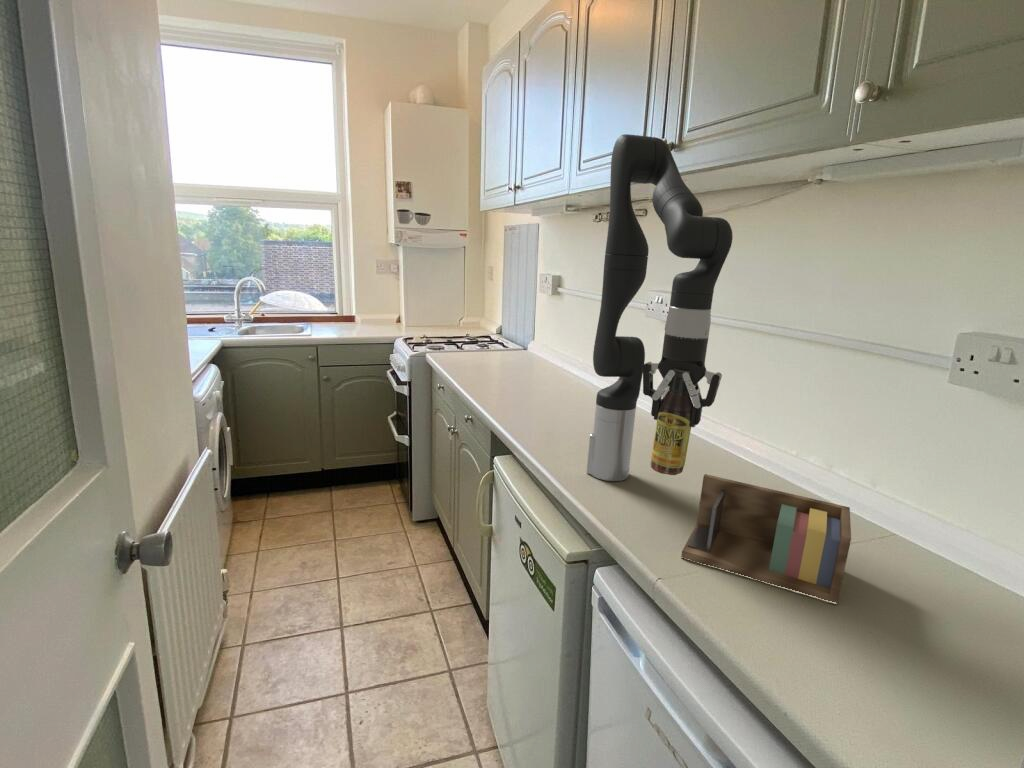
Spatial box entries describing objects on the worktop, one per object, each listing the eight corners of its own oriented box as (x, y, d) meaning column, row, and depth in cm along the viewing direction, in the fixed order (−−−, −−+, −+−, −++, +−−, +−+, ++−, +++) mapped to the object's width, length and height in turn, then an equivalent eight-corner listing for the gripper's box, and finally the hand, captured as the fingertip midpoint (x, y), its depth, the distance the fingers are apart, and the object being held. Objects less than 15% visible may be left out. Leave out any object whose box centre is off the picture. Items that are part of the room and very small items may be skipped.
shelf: (681, 558, 99) (689, 497, 96) (696, 528, 110) (704, 474, 107) (836, 605, 88) (851, 538, 85) (836, 567, 99) (849, 507, 96)
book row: (768, 570, 94) (777, 520, 92) (774, 547, 101) (782, 501, 99) (830, 588, 89) (840, 536, 87) (830, 562, 97) (840, 515, 95)
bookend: (687, 546, 100) (693, 502, 98) (698, 526, 108) (704, 485, 106) (709, 552, 98) (716, 508, 96) (718, 532, 106) (725, 490, 104)
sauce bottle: (644, 470, 106) (656, 368, 101) (656, 461, 111) (668, 362, 106) (679, 480, 102) (693, 374, 98) (689, 469, 108) (703, 368, 103)
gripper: (732, 335, 100) (718, 425, 104) (652, 325, 107) (642, 410, 111) (725, 341, 94) (710, 436, 98) (641, 330, 100) (630, 419, 104)
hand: (674, 422), depth 104 cm, fingers closed on sauce bottle, 6 cm apart
